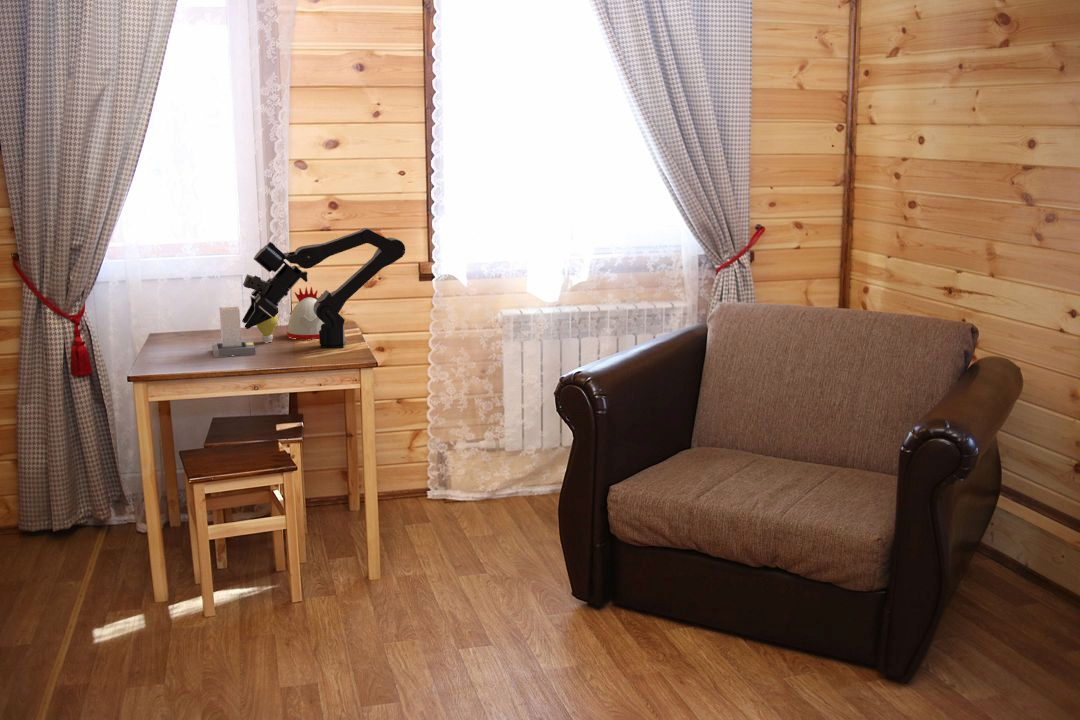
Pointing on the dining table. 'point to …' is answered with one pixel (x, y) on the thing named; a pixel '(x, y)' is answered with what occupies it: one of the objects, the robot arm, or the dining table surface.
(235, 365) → the dining table surface
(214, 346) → the plate
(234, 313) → the rectangular block post
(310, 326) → the kitchen timer
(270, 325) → the light bulb
